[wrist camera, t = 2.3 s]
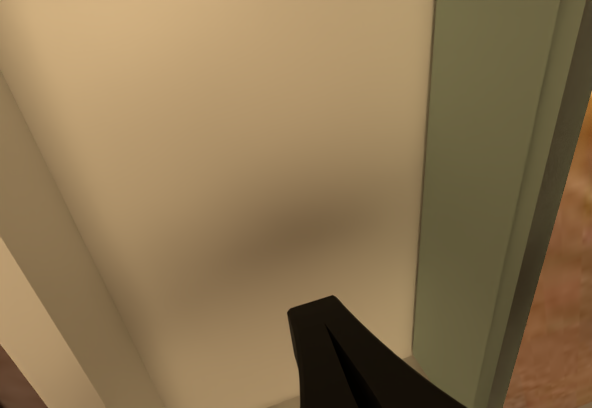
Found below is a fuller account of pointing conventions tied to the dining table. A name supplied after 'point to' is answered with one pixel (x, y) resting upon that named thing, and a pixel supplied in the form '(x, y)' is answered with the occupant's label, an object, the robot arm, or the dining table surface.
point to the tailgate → (494, 180)
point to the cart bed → (205, 190)
